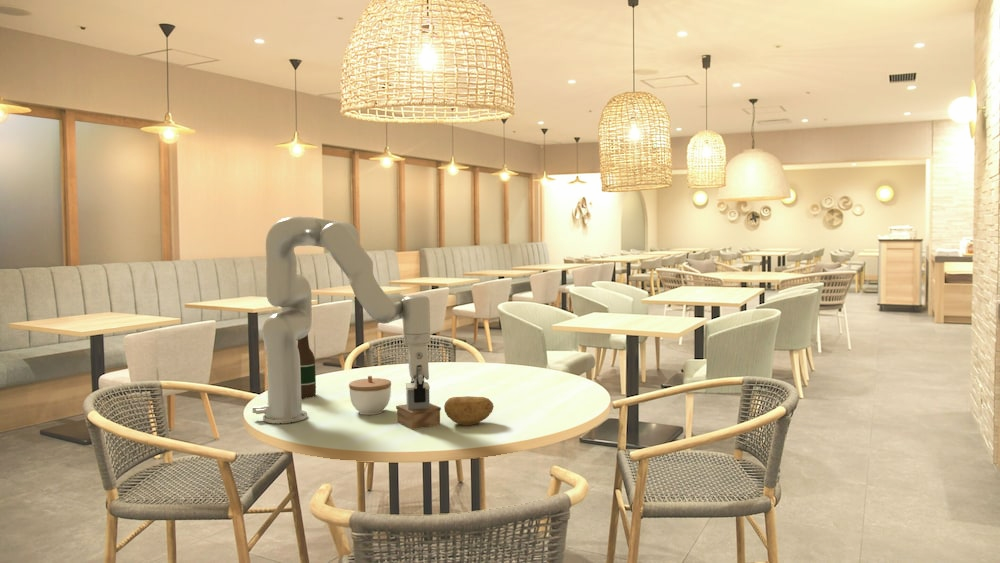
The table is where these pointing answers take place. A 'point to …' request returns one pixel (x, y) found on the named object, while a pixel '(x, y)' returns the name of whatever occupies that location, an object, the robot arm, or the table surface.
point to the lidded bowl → (370, 395)
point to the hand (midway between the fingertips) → (418, 398)
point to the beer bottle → (307, 369)
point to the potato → (468, 409)
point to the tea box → (418, 416)
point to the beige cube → (410, 397)
